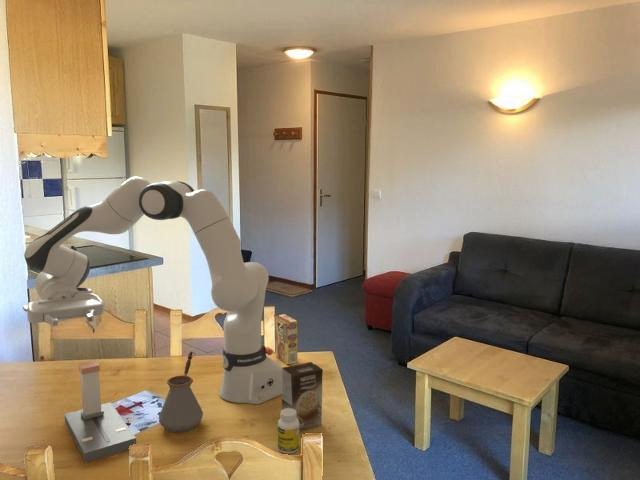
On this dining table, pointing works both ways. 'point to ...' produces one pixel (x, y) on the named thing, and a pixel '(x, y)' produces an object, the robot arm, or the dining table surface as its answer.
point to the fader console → (99, 433)
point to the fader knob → (90, 390)
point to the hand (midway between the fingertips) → (73, 321)
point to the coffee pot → (180, 404)
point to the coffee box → (303, 393)
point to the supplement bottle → (288, 431)
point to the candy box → (286, 338)
